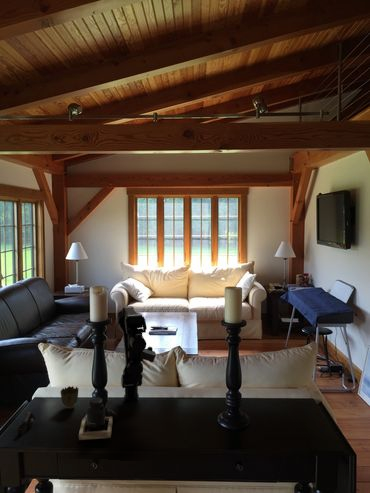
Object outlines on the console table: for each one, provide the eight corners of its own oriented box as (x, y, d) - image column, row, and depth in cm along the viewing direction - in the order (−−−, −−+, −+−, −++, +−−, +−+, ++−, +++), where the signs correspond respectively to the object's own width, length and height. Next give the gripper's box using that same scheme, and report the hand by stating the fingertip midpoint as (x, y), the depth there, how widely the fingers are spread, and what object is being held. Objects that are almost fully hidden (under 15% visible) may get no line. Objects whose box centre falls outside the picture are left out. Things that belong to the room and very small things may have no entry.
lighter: (26, 440, 148) (21, 432, 145) (21, 439, 148) (15, 431, 145) (37, 418, 155) (32, 410, 152) (31, 417, 155) (26, 409, 152)
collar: (83, 423, 154) (82, 418, 154) (112, 421, 156) (112, 416, 156) (78, 440, 143) (78, 434, 143) (110, 437, 144) (110, 431, 144)
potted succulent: (57, 410, 166) (56, 391, 165) (68, 402, 172) (67, 384, 172) (71, 413, 163) (71, 394, 162) (82, 405, 170) (82, 387, 169)
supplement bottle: (87, 436, 145) (86, 405, 144) (86, 427, 152) (85, 397, 151) (106, 433, 147) (105, 402, 146) (104, 424, 154) (104, 394, 153)
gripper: (155, 350, 154) (156, 389, 155) (153, 336, 172) (153, 371, 173) (126, 352, 153) (127, 391, 154) (127, 338, 171) (128, 372, 172)
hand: (135, 381), depth 163 cm, fingers open, 9 cm apart
